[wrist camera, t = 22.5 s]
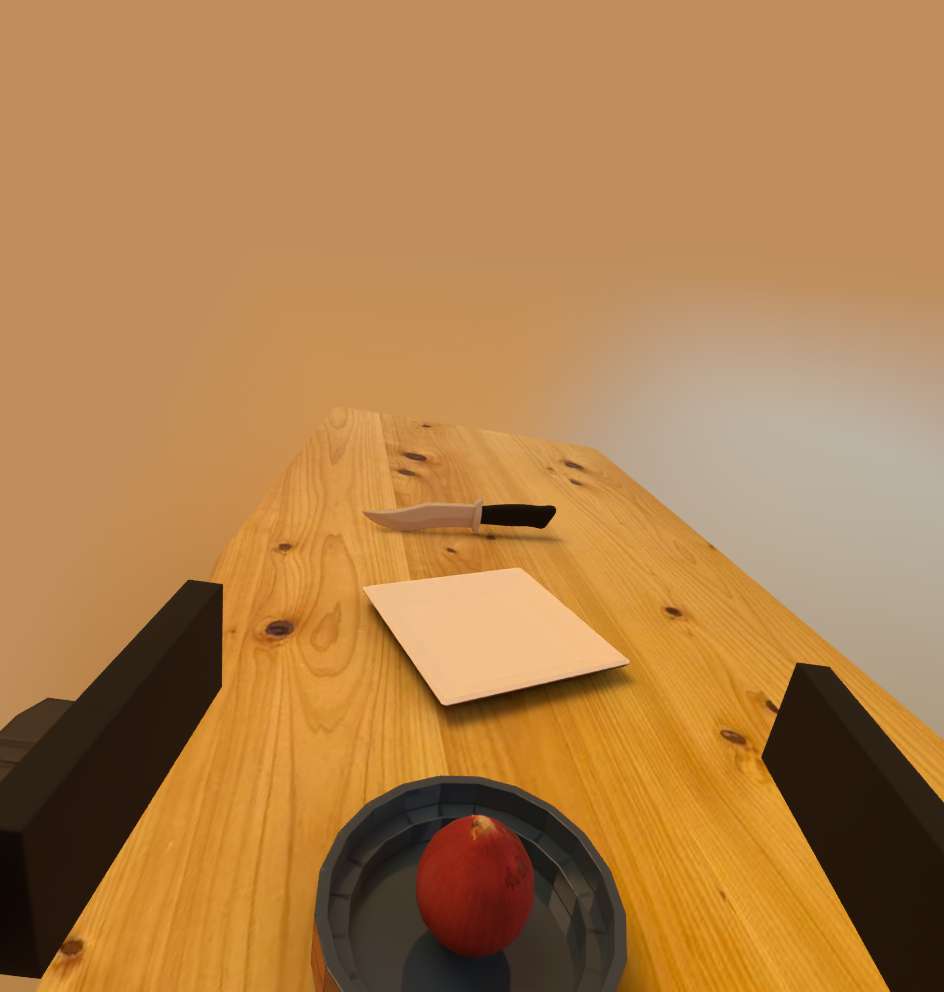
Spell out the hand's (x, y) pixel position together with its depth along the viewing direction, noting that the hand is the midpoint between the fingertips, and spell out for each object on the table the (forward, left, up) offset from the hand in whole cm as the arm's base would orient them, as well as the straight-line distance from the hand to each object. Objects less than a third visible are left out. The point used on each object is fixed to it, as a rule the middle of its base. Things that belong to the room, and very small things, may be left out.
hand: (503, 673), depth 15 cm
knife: (-12, +63, -25) cm, 69 cm away
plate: (-4, +40, -25) cm, 47 cm away
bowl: (0, +11, -25) cm, 27 cm away
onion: (0, +11, -24) cm, 26 cm away
